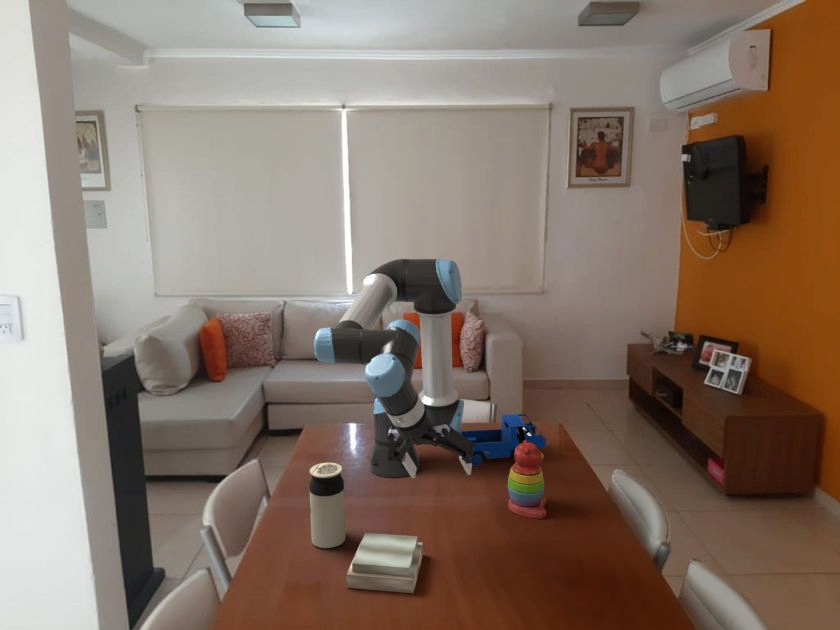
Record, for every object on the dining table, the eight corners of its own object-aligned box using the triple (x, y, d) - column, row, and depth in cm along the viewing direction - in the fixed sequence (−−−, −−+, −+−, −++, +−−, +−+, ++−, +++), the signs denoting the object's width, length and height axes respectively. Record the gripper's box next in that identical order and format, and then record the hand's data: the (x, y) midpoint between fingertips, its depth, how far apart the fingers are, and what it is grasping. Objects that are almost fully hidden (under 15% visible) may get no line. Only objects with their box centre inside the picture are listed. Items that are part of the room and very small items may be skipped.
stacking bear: (546, 520, 152) (548, 453, 148) (505, 516, 154) (507, 450, 150) (546, 499, 162) (548, 437, 159) (508, 496, 164) (509, 434, 161)
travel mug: (351, 534, 145) (349, 464, 142) (336, 552, 138) (333, 478, 135) (321, 528, 148) (319, 460, 145) (305, 546, 141) (302, 473, 137)
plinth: (362, 550, 139) (362, 530, 138) (422, 554, 137) (422, 534, 136) (346, 587, 125) (346, 565, 124) (413, 593, 123) (413, 571, 122)
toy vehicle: (465, 467, 183) (466, 429, 180) (458, 451, 194) (459, 416, 192) (545, 463, 185) (547, 425, 183) (534, 447, 197) (535, 412, 195)
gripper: (351, 434, 127) (389, 488, 140) (463, 424, 118) (492, 483, 131) (359, 406, 133) (395, 460, 145) (467, 394, 124) (495, 453, 137)
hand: (441, 471), depth 138 cm, fingers open, 13 cm apart
